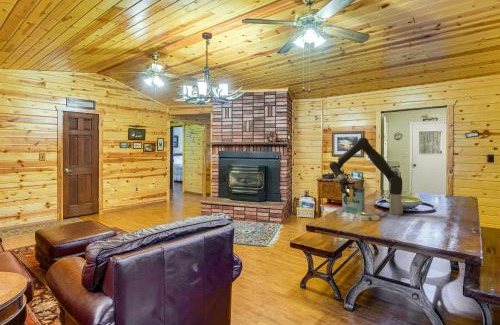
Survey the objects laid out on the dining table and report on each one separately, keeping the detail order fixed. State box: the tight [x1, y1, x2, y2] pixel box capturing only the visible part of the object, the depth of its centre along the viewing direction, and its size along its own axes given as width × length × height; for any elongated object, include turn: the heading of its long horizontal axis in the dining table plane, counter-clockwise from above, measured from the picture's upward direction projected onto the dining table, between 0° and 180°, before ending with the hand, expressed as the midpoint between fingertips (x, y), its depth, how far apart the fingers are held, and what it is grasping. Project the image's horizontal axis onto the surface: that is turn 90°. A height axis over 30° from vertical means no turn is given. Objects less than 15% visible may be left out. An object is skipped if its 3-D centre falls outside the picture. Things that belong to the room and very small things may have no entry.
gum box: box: [341, 186, 366, 215], centre depth 256 cm, size 20×5×23 cm, turn 37°
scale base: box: [355, 213, 380, 222], centre depth 237 cm, size 14×12×3 cm
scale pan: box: [360, 209, 376, 215], centre depth 236 cm, size 11×11×1 cm
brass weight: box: [347, 189, 354, 202], centre depth 242 cm, size 5×5×10 cm
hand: (351, 196), depth 241 cm, fingers closed on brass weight, 5 cm apart
